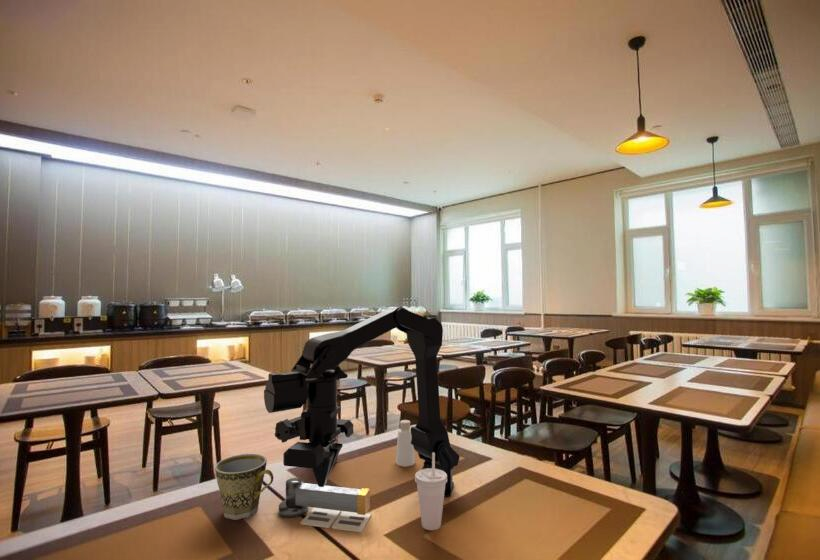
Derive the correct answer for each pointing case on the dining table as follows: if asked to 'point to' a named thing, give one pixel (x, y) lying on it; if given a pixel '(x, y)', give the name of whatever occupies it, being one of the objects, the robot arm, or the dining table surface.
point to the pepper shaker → (405, 446)
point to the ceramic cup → (241, 484)
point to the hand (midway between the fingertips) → (321, 486)
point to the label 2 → (351, 521)
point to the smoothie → (431, 495)
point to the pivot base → (291, 510)
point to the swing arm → (327, 497)
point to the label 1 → (321, 517)
